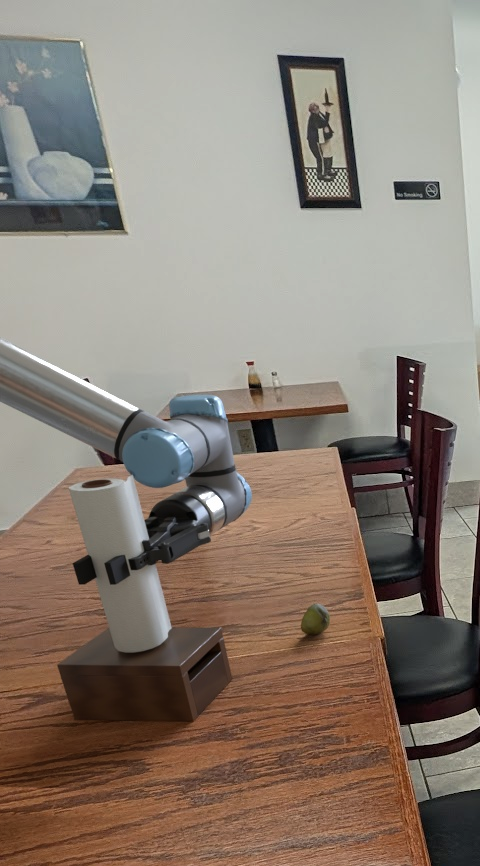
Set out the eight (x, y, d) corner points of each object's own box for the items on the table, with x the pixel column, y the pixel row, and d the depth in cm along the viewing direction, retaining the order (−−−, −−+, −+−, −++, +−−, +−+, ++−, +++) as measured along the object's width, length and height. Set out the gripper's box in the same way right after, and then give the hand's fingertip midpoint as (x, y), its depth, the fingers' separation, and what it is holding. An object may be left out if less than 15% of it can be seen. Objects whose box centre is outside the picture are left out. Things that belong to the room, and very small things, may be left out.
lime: (302, 641, 128) (297, 611, 126) (304, 628, 132) (299, 600, 130) (331, 638, 129) (327, 608, 126) (332, 626, 133) (328, 597, 131)
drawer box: (74, 719, 107) (56, 664, 103) (124, 677, 117) (109, 626, 114) (193, 721, 106) (179, 665, 102) (232, 678, 116) (221, 627, 113)
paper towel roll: (117, 658, 104) (68, 491, 94) (113, 641, 109) (67, 481, 99) (178, 645, 107) (137, 482, 98) (172, 629, 112) (132, 472, 102)
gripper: (246, 543, 120) (167, 603, 99) (139, 543, 121) (38, 602, 100) (236, 492, 117) (152, 543, 96) (126, 493, 118) (19, 543, 97)
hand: (94, 573), depth 98 cm, fingers closed on paper towel roll, 3 cm apart
